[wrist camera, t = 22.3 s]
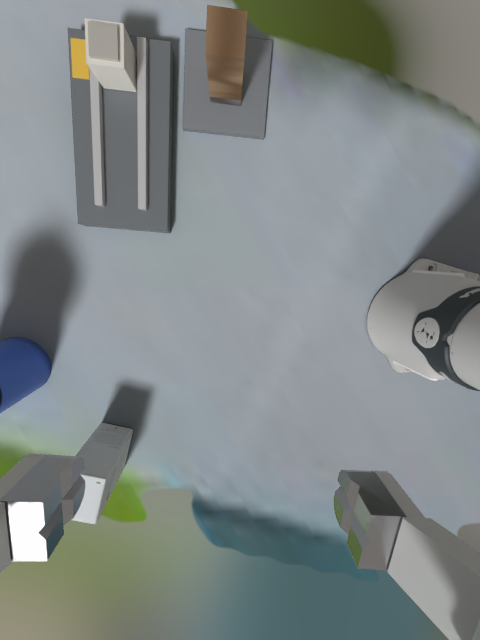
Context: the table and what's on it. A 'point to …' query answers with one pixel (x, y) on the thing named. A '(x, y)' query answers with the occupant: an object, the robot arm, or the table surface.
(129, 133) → the switch panel
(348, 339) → the table surface
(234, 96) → the wooden block
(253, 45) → the mat
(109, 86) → the switch tab
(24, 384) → the water bottle
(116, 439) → the small box
